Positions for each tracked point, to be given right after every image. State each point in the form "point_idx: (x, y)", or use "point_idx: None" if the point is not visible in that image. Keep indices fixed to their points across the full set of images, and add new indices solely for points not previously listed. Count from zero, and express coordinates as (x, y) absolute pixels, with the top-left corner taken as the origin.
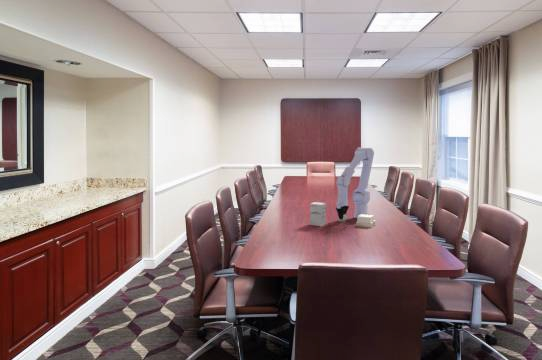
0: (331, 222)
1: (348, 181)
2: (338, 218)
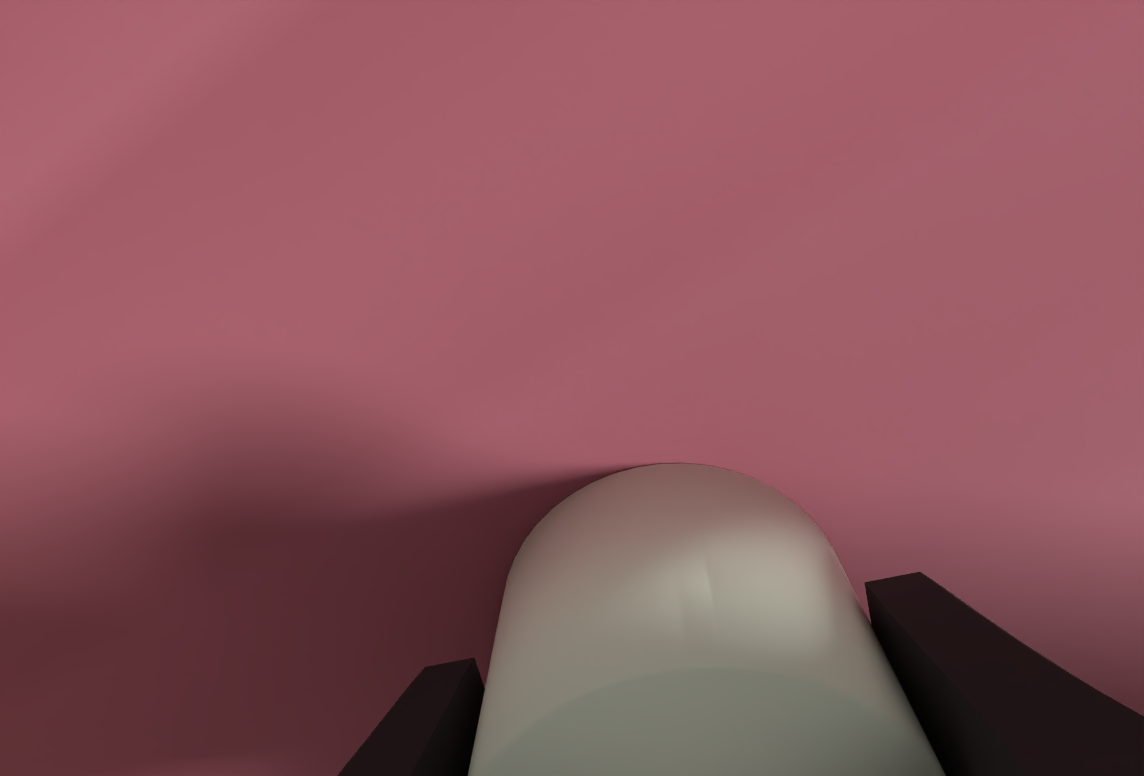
0: (13, 465)
1: None
2: (556, 556)
